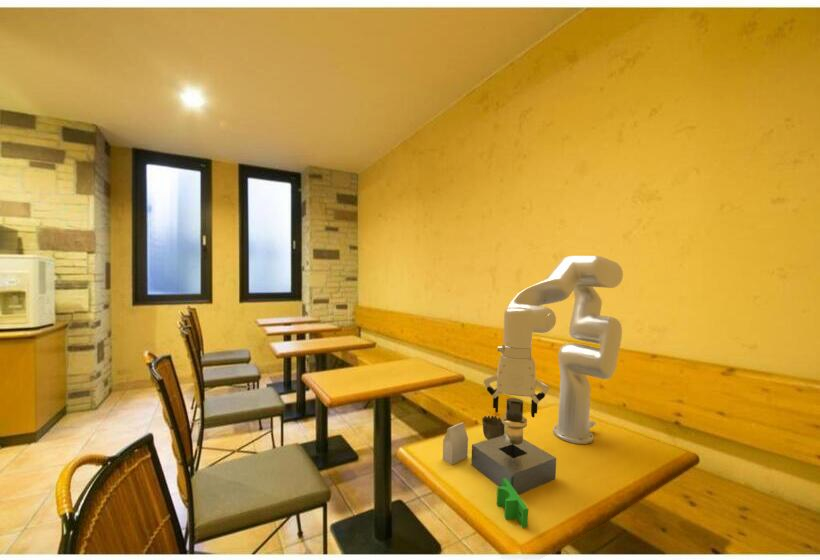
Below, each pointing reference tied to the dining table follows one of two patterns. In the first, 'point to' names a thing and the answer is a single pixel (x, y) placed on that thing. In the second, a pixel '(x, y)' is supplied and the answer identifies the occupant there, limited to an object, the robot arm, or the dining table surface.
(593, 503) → the dining table surface
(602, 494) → the dining table surface
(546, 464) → the plate
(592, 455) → the dining table surface
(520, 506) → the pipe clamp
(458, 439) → the tan milk carton
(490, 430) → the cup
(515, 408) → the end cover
